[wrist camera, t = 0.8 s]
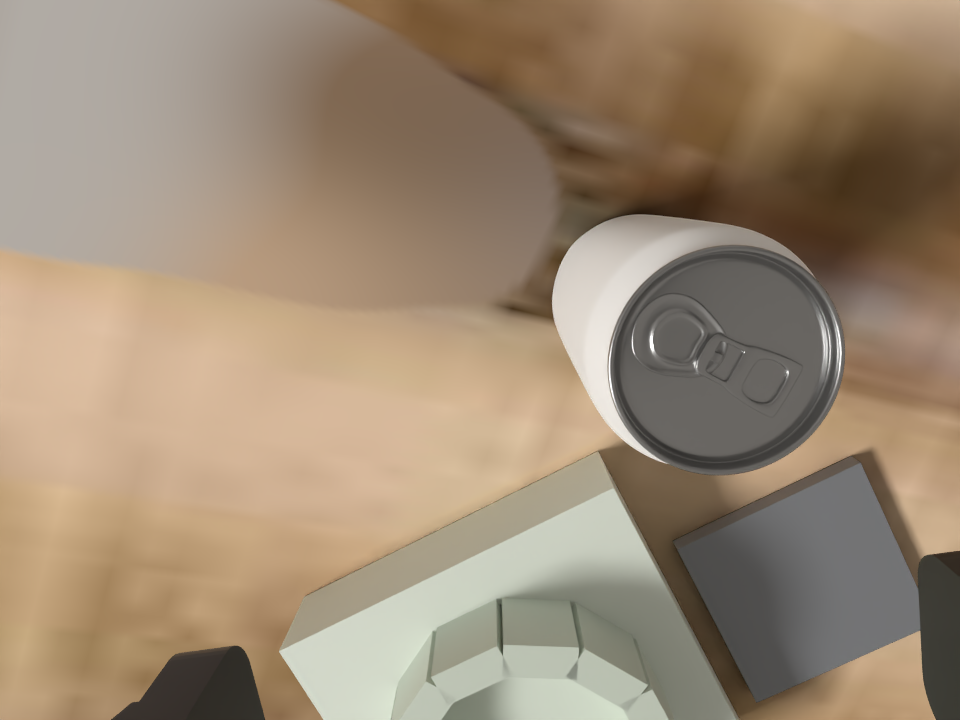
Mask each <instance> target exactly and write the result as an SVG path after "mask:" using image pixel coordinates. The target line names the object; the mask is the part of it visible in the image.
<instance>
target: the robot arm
mask: <svg viewBox="0 0 960 720" xmlns="http://www.w3.org/2000/svg"><path fill="white" fill-rule="evenodd" d="M918 592H919V612H920V631H921V651H922V670H923V680H924V686H925V690H926V694H927V697H928V701H929V704H930V706H931V709H932V711H933V714H934V716H935V718H936V720H960V551H954V552H947V553H939V554H932V555H926V556H924V557H923V558H922V559H921V561H920V564H919V567H918ZM111 720H265V717H264V714H263V710H262V706H261V702H260V699H259V695H258V691H257V687H256V684H255V680H254V676H253V672H252V669H251V665H250V662H249V659H248V657H247V654H246V653H245V651H244V650H243V649H242V648H241V647H239V646H229V647H222V648H214V649H207V650H199V651H192V652H184V653H178V654H175V655H174V656H173V657H172V658H171V659H170V660H169V661H168V662H167V664H166V665H165V667H164V668H163V669H162V671H161V672H160V674H159V675H158V676H157V678H156V679H155V680H154V682H153V683H152V685H151V686H150V687H149V689H148V690H147V692H146V693H145V694H144V696H143V697H142V699H141V700H140V701H139V702H133V703H131V704H130V705H128V706H127V707H126V708H125V709H124V710H122V711H121V712H120V713H119V714H117V715H116V716H115V717H114V718H113V719H111Z"/></svg>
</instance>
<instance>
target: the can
mask: <svg viewBox="0 0 960 720" xmlns="http://www.w3.org/2000/svg"><path fill="white" fill-rule="evenodd" d="M552 308H553V316H554V320H555V324H556V327H557V330H558V333H559V335H560V338H561V340H562V342H563V344H564V346H565V348H566V350H567V353H568V355H569V357H570V359H571V361H572V363H573V365H574V367H575V369H576V371H577V373H578V375H579V377H580V379H581V381H582V383H583V385H584V387H585V389H586V391H587V392H588V394H589V396H590V398H591V400H592V402H593V404H594V405H595V407H596V409H597V410H598V412H599V413H600V415H601V416H602V418H603V419H604V420H605V422H606V423H607V424H608V425H609V427H610V428H611V429H612V430H613V431H614V432H615V433H616V434H617V435H618V436H619V437H620V438H621V439H622V440H624V441H625V442H626V443H627V444H629V445H630V446H631V447H633V448H634V449H636V450H637V451H639V452H641V453H642V454H644V455H646V456H648V457H650V458H653V459H655V460H657V461H660V462H663V463H666V464H670V465H672V466H674V467H677V468H679V469H682V470H685V471H689V472H693V473H698V474H705V475H732V474H740V473H745V472H749V471H753V470H756V469H759V468H762V467H765V466H767V465H769V464H772V463H774V462H776V461H778V460H780V459H781V458H783V457H785V456H786V455H788V454H789V453H791V452H792V451H794V450H795V449H796V448H798V447H799V446H800V445H801V444H803V443H804V442H805V441H806V440H807V439H808V438H809V437H810V436H811V435H812V434H813V433H814V432H815V430H816V429H817V428H818V427H819V426H820V424H821V423H822V421H823V420H824V419H825V417H826V416H827V414H828V412H829V411H830V409H831V407H832V405H833V403H834V401H835V399H836V396H837V394H838V391H839V388H840V384H841V381H842V377H843V371H844V364H845V341H844V334H843V329H842V325H841V321H840V318H839V315H838V313H837V310H836V308H835V306H834V304H833V302H832V300H831V298H830V297H829V295H828V294H827V292H826V291H825V289H824V288H823V287H822V285H821V284H820V283H819V282H818V281H817V280H816V278H815V277H814V275H813V274H812V272H811V271H810V270H809V269H808V267H807V266H806V265H805V264H804V263H803V262H802V261H801V260H800V259H799V258H798V257H797V256H796V255H795V254H794V253H793V252H791V251H790V250H789V249H788V248H786V247H785V246H783V245H782V244H780V243H778V242H777V241H775V240H773V239H771V238H769V237H767V236H765V235H763V234H761V233H758V232H755V231H753V230H750V229H746V228H742V227H738V226H734V225H728V224H722V223H716V222H708V221H701V220H693V219H685V218H677V217H668V216H659V215H646V214H636V215H626V216H621V217H617V218H614V219H611V220H608V221H605V222H603V223H601V224H599V225H597V226H595V227H594V228H592V229H591V230H589V231H588V232H586V233H585V234H584V235H582V236H581V237H580V238H579V239H578V240H577V241H576V242H575V243H574V244H573V245H572V246H571V247H570V249H569V250H568V252H567V253H566V255H565V257H564V258H563V260H562V262H561V265H560V267H559V270H558V273H557V276H556V279H555V283H554V288H553V296H552Z"/></svg>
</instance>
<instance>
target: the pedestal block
mask: <svg viewBox="0 0 960 720" xmlns="http://www.w3.org/2000/svg"><path fill="white" fill-rule="evenodd" d="M279 652H280V654H281V655H282V657H283V658H284V660H285V661H286V663H287V664H288V666H289V667H290V669H291V670H292V672H293V673H294V675H295V677H296V678H297V680H298V681H299V683H300V684H301V686H302V687H303V689H304V690H305V692H306V693H307V695H308V696H309V698H310V699H311V701H312V703H313V704H314V706H315V707H316V709H317V710H318V712H319V713H320V715H321V716H322V718H323V719H324V720H739V718H738V716H737V714H736V712H735V710H734V708H733V706H732V704H731V702H730V701H729V699H728V697H727V695H726V693H725V691H724V689H723V687H722V685H721V683H720V682H719V680H718V678H717V676H716V674H715V672H714V670H713V668H712V666H711V664H710V663H709V661H708V659H707V657H706V655H705V653H704V651H703V649H702V647H701V645H700V644H699V642H698V640H697V638H696V636H695V634H694V632H693V630H692V628H691V627H690V625H689V623H688V621H687V619H686V617H685V615H684V613H683V611H682V609H681V608H680V606H679V604H678V602H677V600H676V598H675V596H674V594H673V592H672V590H671V589H670V587H669V585H668V583H667V581H666V579H665V577H664V575H663V573H662V572H661V570H660V568H659V566H658V564H657V562H656V560H655V558H654V556H653V554H652V553H651V551H650V549H649V547H648V545H647V543H646V541H645V539H644V537H643V535H642V534H641V532H640V530H639V528H638V526H637V524H636V522H635V520H634V518H633V517H632V515H631V513H630V511H629V509H628V507H627V505H626V503H625V501H624V499H623V498H622V496H621V494H620V492H619V490H618V488H617V486H616V484H615V482H614V480H613V479H612V477H611V475H610V473H609V471H608V469H607V467H606V465H605V463H604V461H603V460H602V458H601V456H600V454H599V452H598V451H597V452H595V453H593V454H591V455H589V456H587V457H585V458H583V459H581V460H579V461H577V462H575V463H573V464H571V465H569V466H567V467H565V468H563V469H561V470H559V471H557V472H555V473H553V474H551V475H549V476H547V477H545V478H543V479H541V480H539V481H537V482H535V483H533V484H531V485H529V486H527V487H525V488H523V489H521V490H518V491H516V492H514V493H512V494H510V495H508V496H506V497H504V498H502V499H500V500H498V501H496V502H494V503H492V504H490V505H488V506H486V507H484V508H482V509H480V510H478V511H476V512H474V513H472V514H470V515H468V516H466V517H464V518H462V519H460V520H458V521H456V522H454V523H452V524H450V525H448V526H446V527H444V528H442V529H440V530H438V531H436V532H434V533H432V534H430V535H428V536H426V537H424V538H422V539H420V540H418V541H416V542H414V543H412V544H410V545H408V546H406V547H404V548H402V549H399V550H397V551H395V552H393V553H391V554H389V555H387V556H385V557H383V558H381V559H379V560H377V561H375V562H373V563H371V564H369V565H367V566H365V567H363V568H361V569H359V570H357V571H355V572H353V573H351V574H349V575H347V576H345V577H343V578H341V579H339V580H337V581H335V582H333V583H331V584H329V585H327V586H325V587H323V588H321V589H319V590H317V591H315V592H313V593H311V594H309V595H307V596H305V597H304V598H303V601H302V603H301V605H300V607H299V609H298V611H297V614H296V616H295V618H294V620H293V622H292V624H291V627H290V629H289V631H288V633H287V635H286V637H285V640H284V642H283V644H282V646H281V648H280V650H279Z"/></svg>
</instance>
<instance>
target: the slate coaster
mask: <svg viewBox="0 0 960 720" xmlns="http://www.w3.org/2000/svg"><path fill="white" fill-rule="evenodd" d="M673 543H674V545H675V547H676V549H677V551H678V553H679V554H680V556H681V558H682V560H683V562H684V564H685V566H686V568H687V570H688V572H689V574H690V576H691V578H692V580H693V581H694V583H695V585H696V587H697V589H698V591H699V593H700V595H701V597H702V599H703V601H704V603H705V605H706V606H707V608H708V610H709V612H710V614H711V616H712V618H713V620H714V622H715V624H716V626H717V628H718V630H719V631H720V633H721V635H722V637H723V639H724V641H725V643H726V645H727V647H728V649H729V651H730V653H731V655H732V657H733V658H734V660H735V662H736V664H737V666H738V668H739V670H740V672H741V674H742V676H743V678H744V680H745V682H746V683H747V685H748V687H749V689H750V691H751V693H752V695H753V697H754V699H755V701H756V703H757V702H760V701H762V700H764V699H766V698H769V697H771V696H773V695H775V694H778V693H780V692H782V691H784V690H787V689H789V688H791V687H793V686H796V685H798V684H800V683H802V682H805V681H807V680H809V679H811V678H814V677H816V676H818V675H820V674H823V673H825V672H827V671H829V670H832V669H834V668H836V667H838V666H841V665H843V664H845V663H847V662H850V661H852V660H854V659H856V658H859V657H861V656H863V655H865V654H868V653H870V652H872V651H874V650H877V649H879V648H881V647H883V646H886V645H888V644H890V643H893V642H895V641H897V640H899V639H902V638H904V637H906V636H908V635H911V634H913V633H915V632H917V631H920V612H919V592H918V588H917V586H916V583H915V581H914V579H913V577H912V575H911V572H910V570H909V568H908V566H907V564H906V561H905V559H904V557H903V555H902V553H901V550H900V548H899V546H898V544H897V542H896V539H895V537H894V535H893V533H892V531H891V528H890V526H889V524H888V522H887V520H886V517H885V515H884V513H883V511H882V509H881V506H880V504H879V502H878V500H877V498H876V495H875V493H874V491H873V489H872V487H871V484H870V482H869V480H868V478H867V476H866V473H865V471H864V469H863V467H862V465H861V463H860V462H859V461H858V460H856V459H855V458H853V457H852V456H850V457H848V458H846V459H844V460H842V461H840V462H837V463H835V464H833V465H831V466H829V467H827V468H825V469H823V470H821V471H818V472H816V473H814V474H812V475H810V476H808V477H806V478H804V479H802V480H800V481H797V482H795V483H793V484H791V485H789V486H787V487H785V488H783V489H781V490H779V491H776V492H774V493H772V494H770V495H768V496H766V497H764V498H762V499H760V500H758V501H755V502H753V503H751V504H749V505H747V506H745V507H743V508H741V509H739V510H737V511H734V512H732V513H730V514H728V515H726V516H724V517H722V518H720V519H718V520H715V521H713V522H711V523H709V524H707V525H705V526H703V527H701V528H699V529H697V530H694V531H692V532H690V533H688V534H686V535H684V536H682V537H680V538H678V539H676V540H673Z"/></svg>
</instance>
